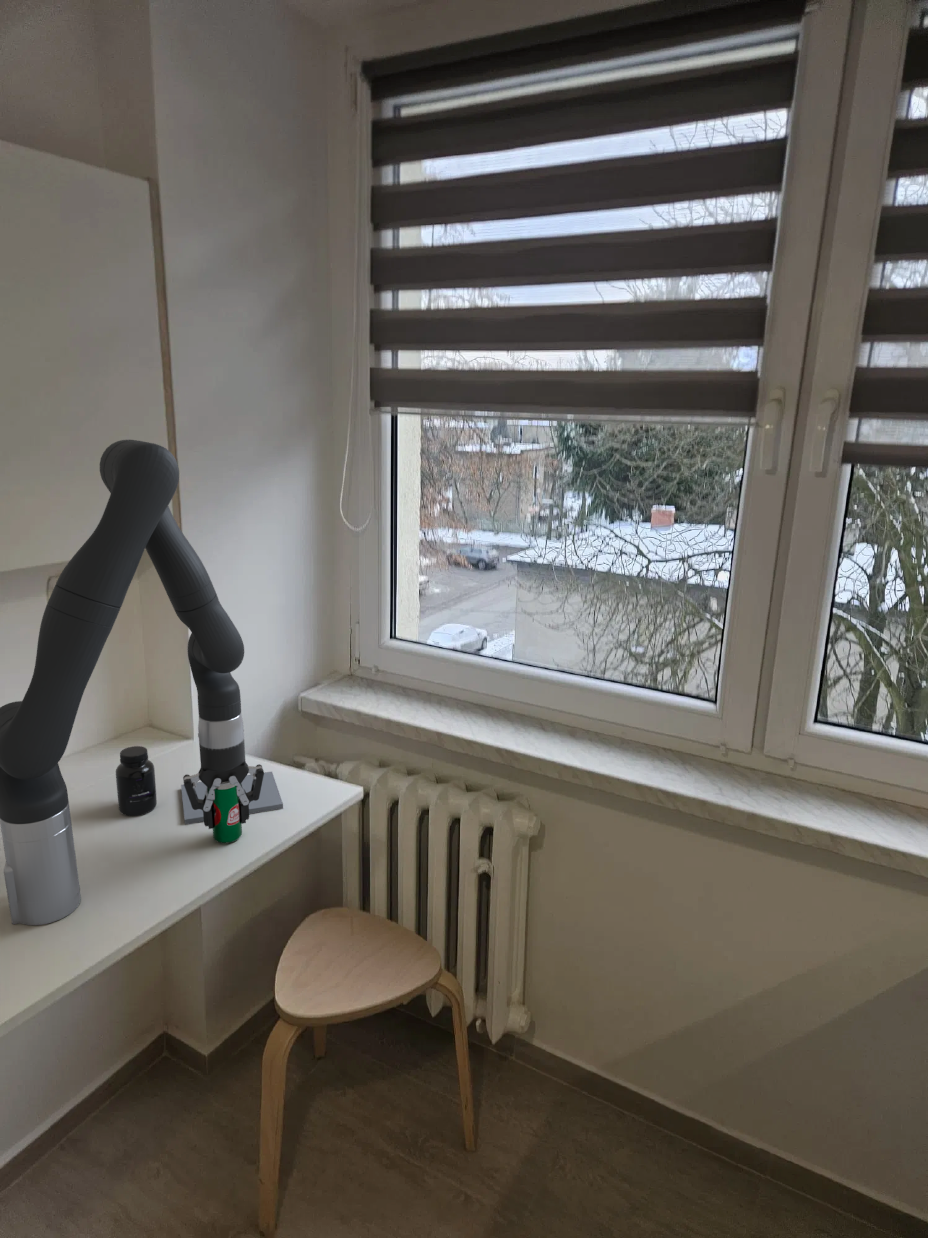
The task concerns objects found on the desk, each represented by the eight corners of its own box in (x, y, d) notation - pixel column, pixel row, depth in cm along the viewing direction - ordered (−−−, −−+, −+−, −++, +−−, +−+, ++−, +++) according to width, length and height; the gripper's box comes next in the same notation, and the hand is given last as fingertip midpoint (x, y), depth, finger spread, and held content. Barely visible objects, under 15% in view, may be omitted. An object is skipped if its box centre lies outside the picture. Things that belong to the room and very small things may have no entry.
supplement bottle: (140, 820, 146) (134, 762, 143) (111, 813, 148) (104, 755, 145) (165, 803, 152) (160, 747, 149) (136, 796, 154) (131, 741, 151)
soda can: (234, 847, 139) (230, 786, 135) (207, 843, 139) (203, 782, 136) (247, 832, 143) (244, 773, 140) (221, 828, 144) (218, 769, 141)
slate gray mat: (185, 824, 145) (184, 819, 145) (181, 789, 158) (181, 784, 157) (283, 808, 152) (282, 803, 151) (272, 775, 164) (272, 771, 164)
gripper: (178, 752, 130) (186, 842, 135) (266, 741, 135) (270, 827, 140) (176, 734, 137) (183, 820, 141) (260, 724, 142) (264, 807, 147)
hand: (227, 823), depth 141 cm, fingers closed on soda can, 5 cm apart
